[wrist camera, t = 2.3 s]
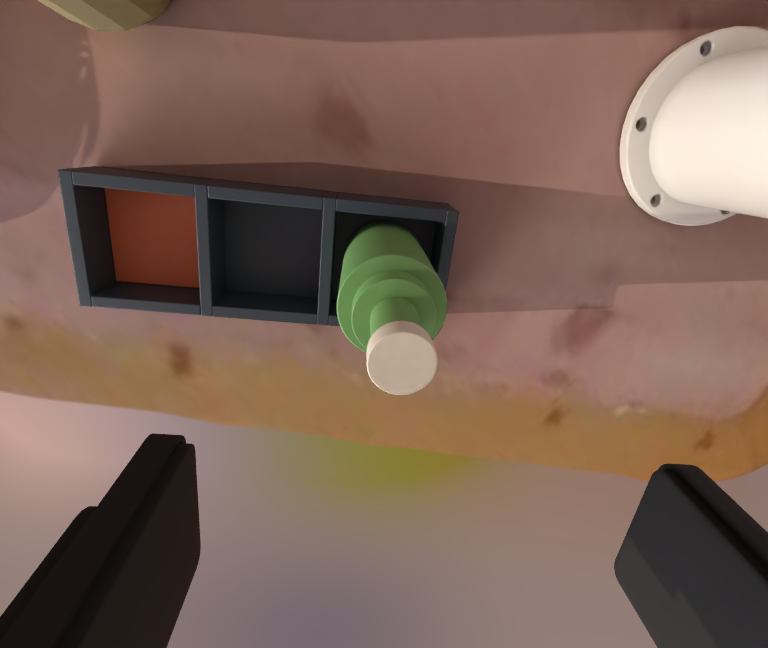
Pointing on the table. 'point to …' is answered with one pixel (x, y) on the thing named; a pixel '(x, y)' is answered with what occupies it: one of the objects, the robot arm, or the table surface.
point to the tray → (226, 243)
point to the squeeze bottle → (108, 12)
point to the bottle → (391, 305)
